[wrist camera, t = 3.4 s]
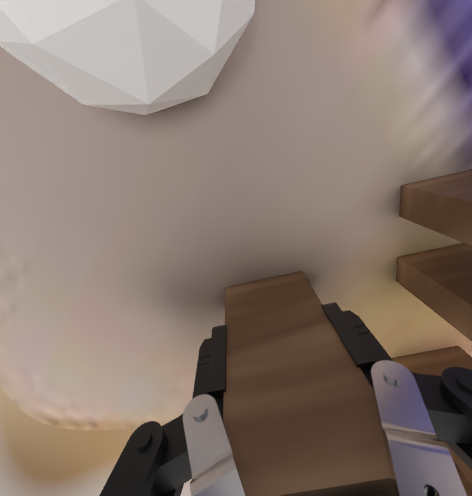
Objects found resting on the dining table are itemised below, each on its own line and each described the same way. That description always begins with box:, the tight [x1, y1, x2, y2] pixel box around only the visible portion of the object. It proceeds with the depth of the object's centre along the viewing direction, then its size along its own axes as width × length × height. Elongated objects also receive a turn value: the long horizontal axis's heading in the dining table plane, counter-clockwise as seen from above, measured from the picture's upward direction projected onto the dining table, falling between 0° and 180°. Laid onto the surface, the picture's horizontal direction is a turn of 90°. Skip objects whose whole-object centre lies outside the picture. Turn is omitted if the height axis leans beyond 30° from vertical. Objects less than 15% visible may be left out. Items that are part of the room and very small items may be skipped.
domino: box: [223, 271, 396, 496], centre depth 11 cm, size 2×5×10 cm, turn 103°
